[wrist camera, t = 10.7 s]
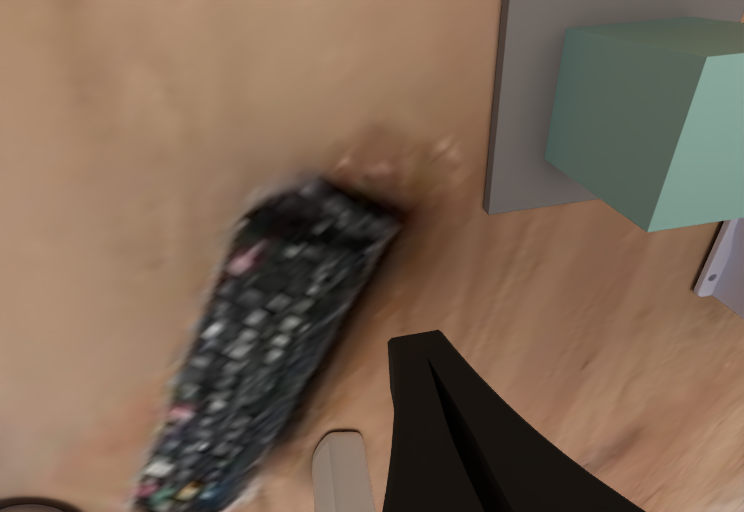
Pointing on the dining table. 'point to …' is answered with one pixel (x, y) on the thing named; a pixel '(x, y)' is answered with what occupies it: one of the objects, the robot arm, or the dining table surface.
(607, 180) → the upright teal cuboid
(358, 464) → the eye dropper bottle
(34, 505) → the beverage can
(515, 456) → the robot arm
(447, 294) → the dining table surface
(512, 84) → the base
